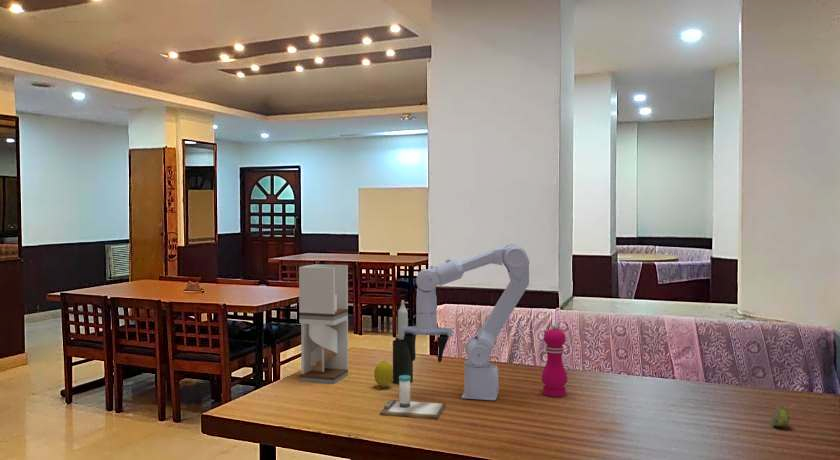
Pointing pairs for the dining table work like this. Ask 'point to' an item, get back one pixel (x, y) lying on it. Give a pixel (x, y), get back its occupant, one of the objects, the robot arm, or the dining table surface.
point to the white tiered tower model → (323, 322)
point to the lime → (780, 417)
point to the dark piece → (401, 349)
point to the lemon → (383, 374)
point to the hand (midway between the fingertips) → (426, 360)
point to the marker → (404, 391)
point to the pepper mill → (554, 363)
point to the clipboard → (413, 409)
